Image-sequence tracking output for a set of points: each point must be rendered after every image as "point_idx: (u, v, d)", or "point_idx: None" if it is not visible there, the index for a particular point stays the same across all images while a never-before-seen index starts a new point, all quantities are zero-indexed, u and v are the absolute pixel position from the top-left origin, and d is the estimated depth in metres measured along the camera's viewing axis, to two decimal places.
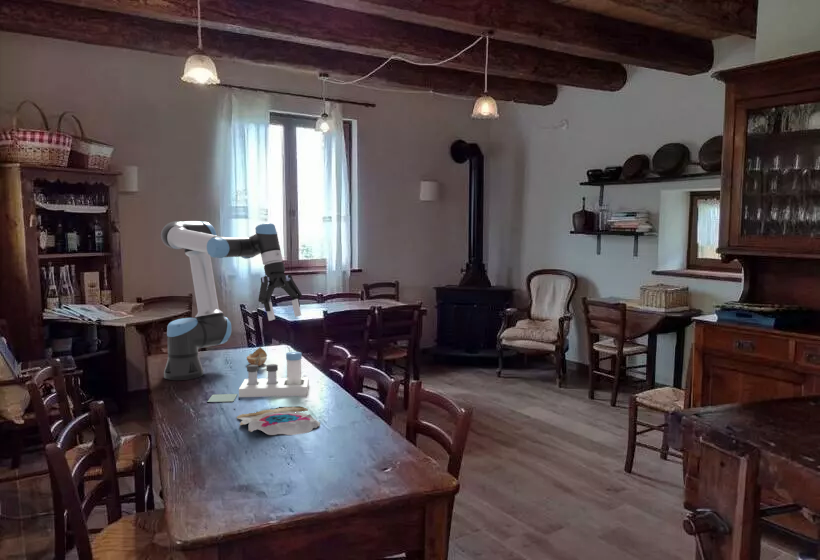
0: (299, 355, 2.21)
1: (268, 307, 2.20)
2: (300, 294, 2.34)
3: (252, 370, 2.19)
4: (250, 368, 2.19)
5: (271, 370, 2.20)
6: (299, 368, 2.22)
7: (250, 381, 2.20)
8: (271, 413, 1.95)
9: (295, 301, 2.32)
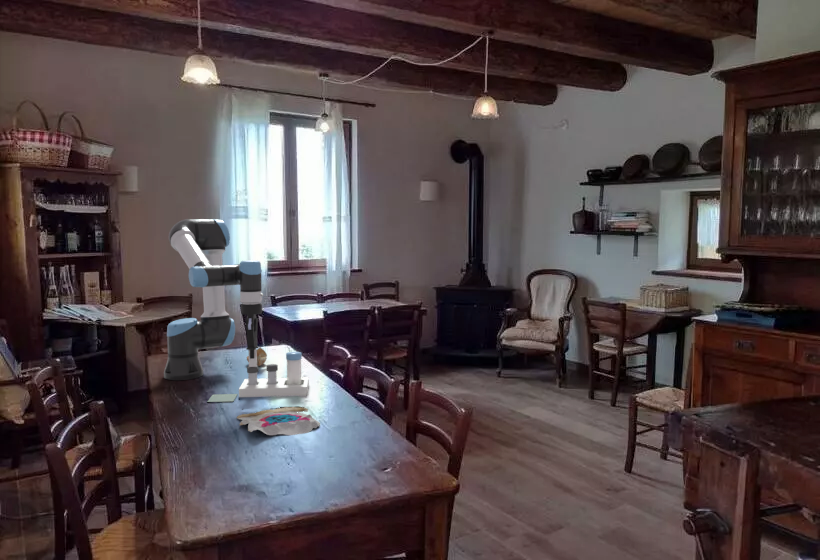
0: (299, 355, 2.21)
1: (254, 354, 2.19)
2: (256, 342, 2.23)
3: (252, 371, 2.19)
4: (250, 369, 2.19)
5: (271, 370, 2.20)
6: (299, 368, 2.22)
7: (250, 382, 2.20)
8: (271, 413, 1.95)
9: None
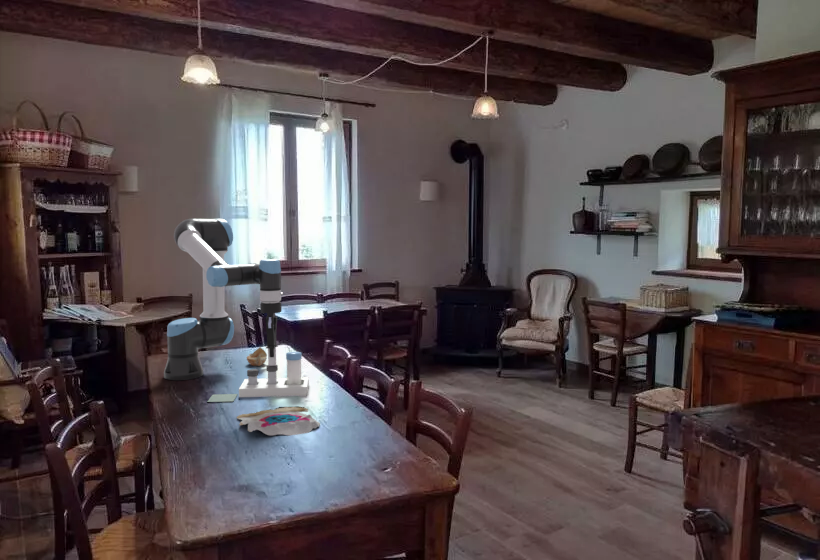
0: (299, 355, 2.21)
1: (273, 353, 2.20)
2: None
3: (252, 375, 2.19)
4: (250, 373, 2.19)
5: (271, 370, 2.20)
6: (299, 368, 2.22)
7: None
8: (271, 413, 1.95)
9: None
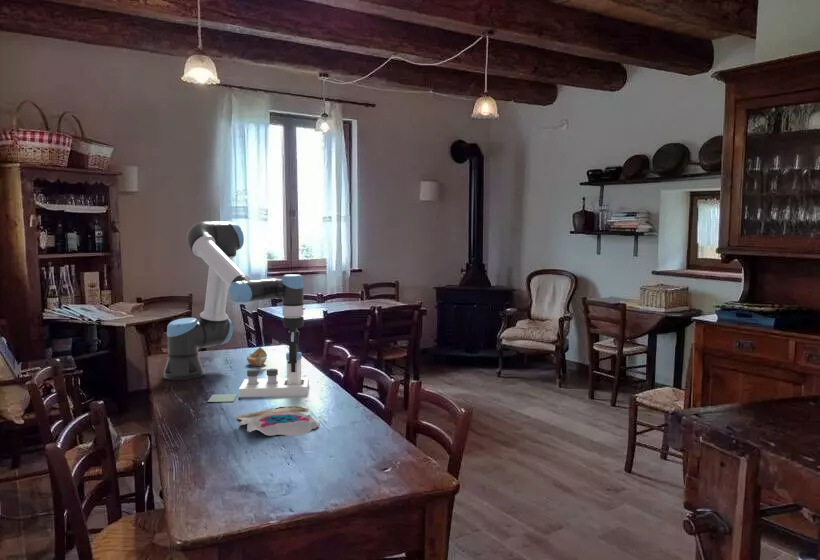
0: (299, 355, 2.21)
1: (295, 368, 2.19)
2: None
3: (252, 375, 2.19)
4: (250, 373, 2.19)
5: (271, 375, 2.20)
6: (299, 368, 2.22)
7: None
8: (271, 413, 1.95)
9: None
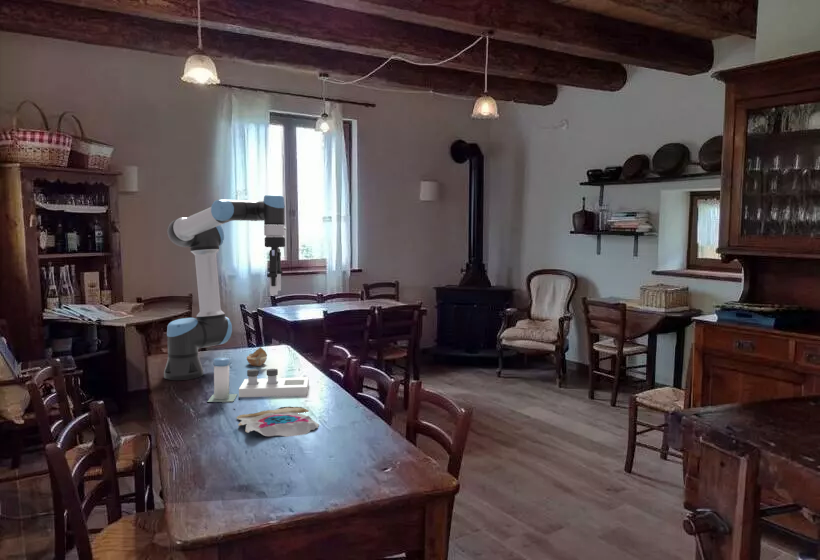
0: None
1: (275, 282, 2.19)
2: (280, 269, 2.36)
3: (252, 375, 2.19)
4: (250, 373, 2.19)
5: (271, 375, 2.20)
6: None
7: None
8: (271, 414, 1.94)
9: (278, 276, 2.33)
